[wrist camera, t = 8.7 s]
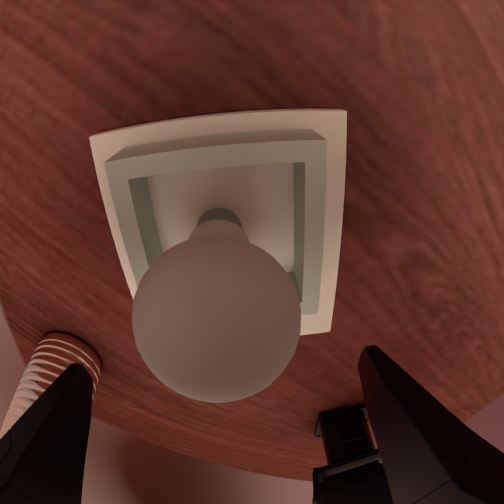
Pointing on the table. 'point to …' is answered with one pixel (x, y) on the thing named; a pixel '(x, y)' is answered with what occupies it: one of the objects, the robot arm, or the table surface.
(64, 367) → the water bottle
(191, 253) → the lightbulb
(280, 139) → the tray
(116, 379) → the table surface
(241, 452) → the table surface
